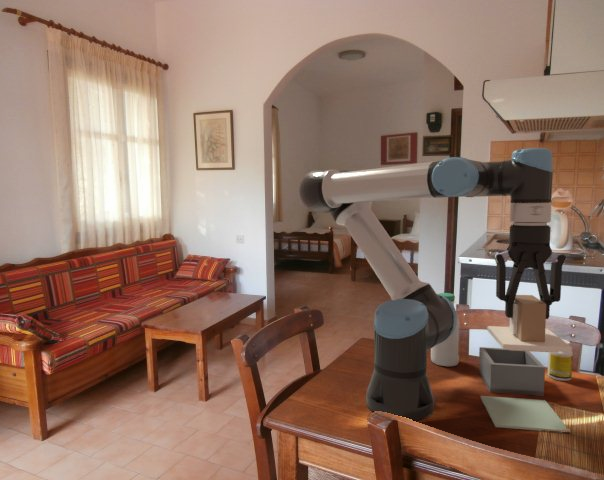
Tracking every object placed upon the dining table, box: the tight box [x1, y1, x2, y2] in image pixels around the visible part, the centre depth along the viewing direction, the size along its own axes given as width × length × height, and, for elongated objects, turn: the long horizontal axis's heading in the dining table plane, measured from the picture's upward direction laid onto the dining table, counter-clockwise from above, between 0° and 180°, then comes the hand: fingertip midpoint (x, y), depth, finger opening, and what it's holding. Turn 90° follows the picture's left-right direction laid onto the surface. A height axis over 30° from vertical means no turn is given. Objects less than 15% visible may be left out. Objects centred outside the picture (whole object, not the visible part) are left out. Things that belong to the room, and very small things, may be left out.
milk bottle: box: [430, 292, 461, 368], centre depth 120 cm, size 8×8×20 cm
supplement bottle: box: [547, 338, 574, 382], centre depth 110 cm, size 5×5×10 cm
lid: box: [487, 294, 573, 353], centre depth 89 cm, size 13×13×10 cm
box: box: [478, 346, 546, 397], centre depth 106 cm, size 12×12×7 cm
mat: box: [480, 395, 571, 432], centre depth 91 cm, size 14×13×1 cm
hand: (526, 332), depth 89 cm, fingers closed on lid, 4 cm apart
